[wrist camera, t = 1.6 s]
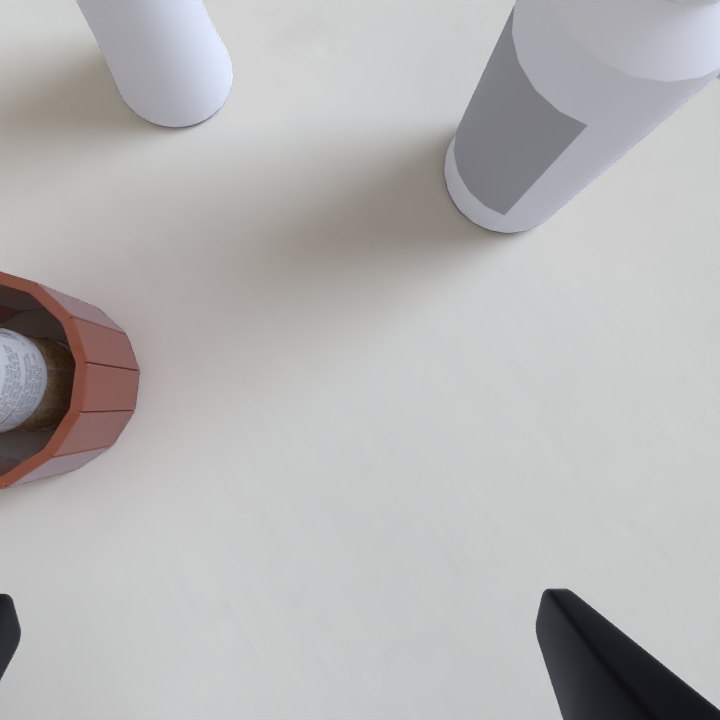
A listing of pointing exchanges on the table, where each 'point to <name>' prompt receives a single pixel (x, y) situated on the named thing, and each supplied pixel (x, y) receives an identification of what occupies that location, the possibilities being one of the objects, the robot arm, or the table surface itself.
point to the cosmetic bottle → (162, 57)
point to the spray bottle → (573, 100)
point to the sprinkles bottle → (34, 382)
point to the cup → (76, 382)
